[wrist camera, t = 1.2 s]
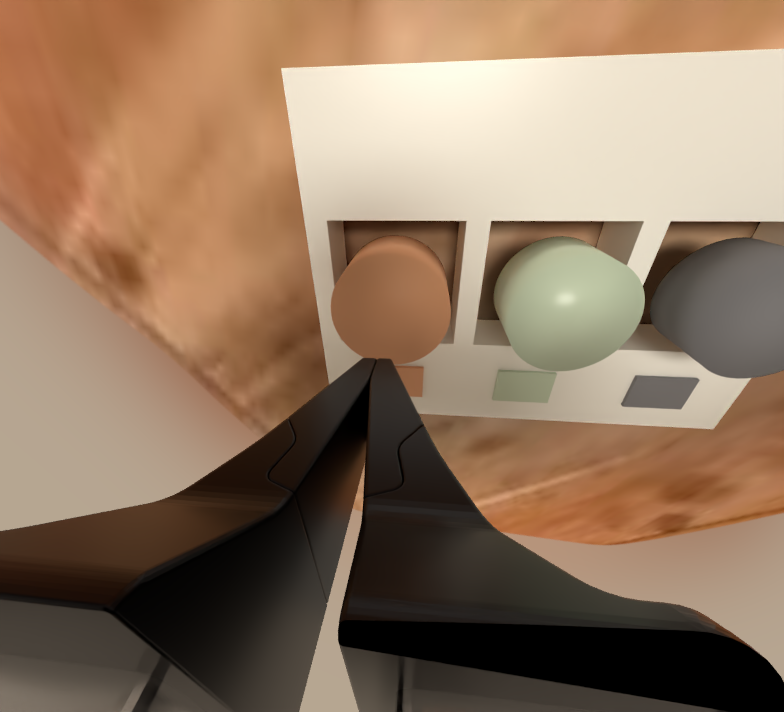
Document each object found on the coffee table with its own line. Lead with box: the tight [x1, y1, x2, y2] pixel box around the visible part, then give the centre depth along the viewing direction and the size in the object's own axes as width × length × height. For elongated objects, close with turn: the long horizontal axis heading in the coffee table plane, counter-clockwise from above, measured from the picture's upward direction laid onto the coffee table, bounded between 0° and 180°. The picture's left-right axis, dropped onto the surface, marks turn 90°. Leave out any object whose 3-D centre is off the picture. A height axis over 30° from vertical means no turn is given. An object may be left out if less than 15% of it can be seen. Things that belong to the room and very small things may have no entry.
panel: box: [281, 49, 784, 429], centre depth 16 cm, size 22×16×3 cm
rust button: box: [331, 235, 451, 365], centre depth 14 cm, size 5×5×3 cm
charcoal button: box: [650, 237, 784, 379], centre depth 13 cm, size 5×5×3 cm
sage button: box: [494, 236, 645, 371], centre depth 13 cm, size 5×5×3 cm
